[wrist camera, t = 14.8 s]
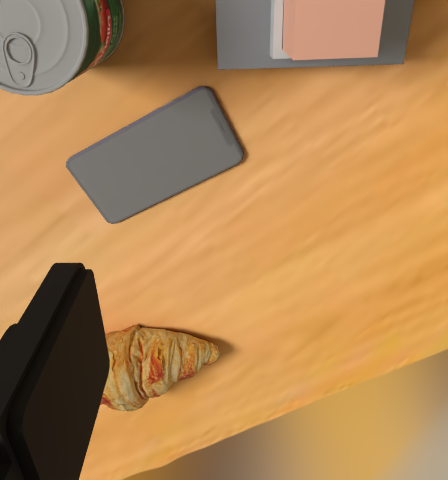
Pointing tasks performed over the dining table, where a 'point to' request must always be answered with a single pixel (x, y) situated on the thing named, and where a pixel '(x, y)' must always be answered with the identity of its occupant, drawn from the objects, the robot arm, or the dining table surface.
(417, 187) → the dining table surface
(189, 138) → the smartphone
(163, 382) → the croissant
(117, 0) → the canned tomato
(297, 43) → the block
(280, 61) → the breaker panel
